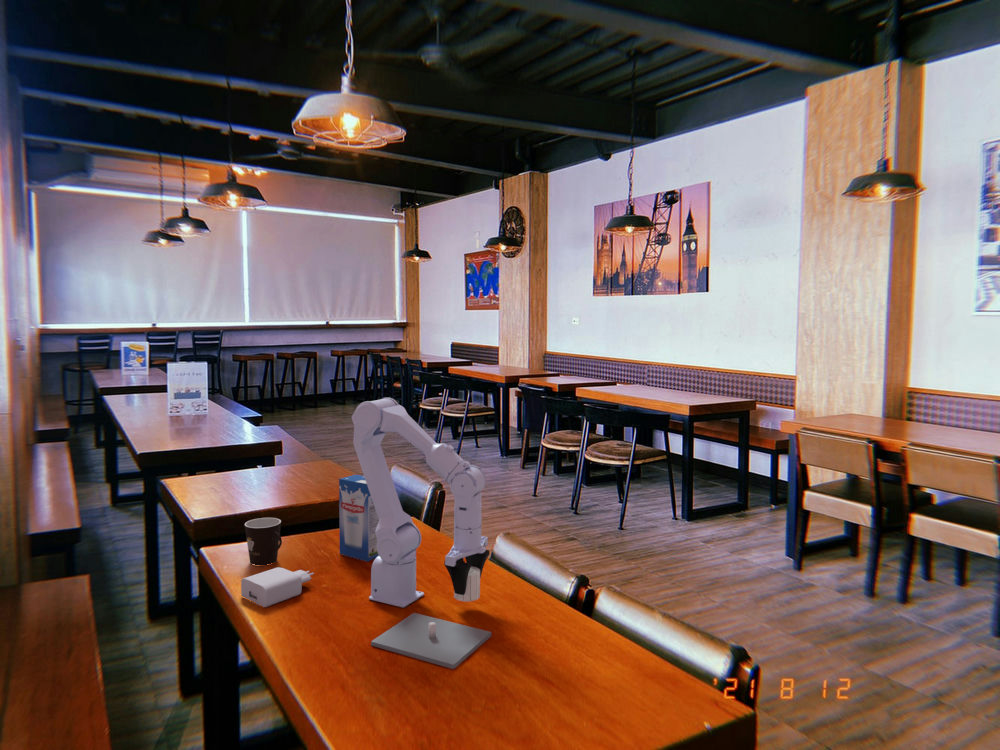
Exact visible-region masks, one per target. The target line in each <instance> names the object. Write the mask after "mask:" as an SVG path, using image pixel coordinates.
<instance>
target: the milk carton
mask: <svg viewBox="0 0 1000 750" xmlns="http://www.w3.org/2000/svg"><path fill="white" fill-rule="evenodd" d="M338 493H339V494H338V496H339V497H338V498H339V499H338V501H339V502H338V507H339V508H338V509H339V513H338V514H339V519H338V520H339V523H338V524H339V526H338V527H339V555H341V554H343V555H342V556H345V555H346V556H345V557H348V556H349V558H352V557H353V559H356V558H357V559H356V560H359V559H360V561H363V560H364V562H370V561H372V559H373V560H375V559H376V558H377V557H378V556H379V554H378V552H377V537H376V534H375V531H376V528H377V525H378V522H379V518H378V516H377V513H376V510H375V507H374V504H373V501H372V498H371V495H370V492H369V489H368V486H367V483H366V480H365V477H364V475H362V474H352V475H349V476H344V477H342V478H341V477H340V478H339V479H338ZM374 558H375V559H374Z"/></svg>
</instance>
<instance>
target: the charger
mask: <svg viewBox="0 0 1000 750" xmlns="http://www.w3.org/2000/svg"><path fill="white" fill-rule="evenodd" d="M314 574H315V572H311V573H310V570H307V571H305V570H303V569H299V570H295V571H291V570H289V569H286V568H284V567H279V566H278V567H274V568H272V569H269V570H265V571H262V572H259V573H256V574H252V575H249V576H247V577H243V578H241V582H240V583H241V585H240V589H241V590H240V593H241V597H242V596H243V597H245V598H247V599H249V600H251V601H253V602H255V603H256V604H255V603H254V604H255V605H257V604H258V605H257V606H259V605H261V606H263V607H262V608H264V607H265V608H268V607H270V606H273V605H275V604H279V603H280V602H283V601H287V600H289V599H291V598H293V597H297V596H300V595H301V593H302V591H303V590H302V588H303V585H302V584H304V583H307V582H310V581H311V580H312V577H311V576H313V575H314ZM243 597H242V598H243ZM251 601H250V602H251ZM253 602H252V603H253ZM261 606H260V607H261Z"/></svg>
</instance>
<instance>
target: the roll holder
mask: <svg viewBox="0 0 1000 750" xmlns="http://www.w3.org/2000/svg"><path fill="white" fill-rule="evenodd" d="M491 637H492V631H487V630H484V629H481V628H477V627H472V626H468V625H465V624H461V623H457V622H452V621H448V620H444V619H441V618H436V617H433V616H428V615H425V614H424V615H423V614H421V613H417V612H413V613H412V614H410V615H409V616H407V617H405V618H404V619H402V620H401V621H399V622H398V623H397V624H395V625H394V626H392V627H390V628H389V629H387V630H386V631H384V632H383V633H381V634H380V635H378V636H377V637H376V638H374V639H372V640H371V642H370V644H371V645H370V646H372V647H376V648H379V649H382V650H386V651H389V652H393V653H395V654H400V655H403V656H406V657H411V658H413V659H417V660H421V661H423V662H424V661H425V662H426V663H427V662H428V663H430V664H434V665H436V666H437V665H438V666H441V667H444V668H448V669H451V670H455V669H456V668H457V667H458V666H460V665H461V663H462V662H464V661H465V660H466V659H467V658H468V657H469V656H471V655H472V654H473V653H474V652H475V651H476V650H477V649H479V647H481V646H482V645H483V644H484V643H485V642H486V641H487V640H489V639H490V638H491Z"/></svg>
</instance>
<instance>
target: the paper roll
mask: <svg viewBox="0 0 1000 750" xmlns="http://www.w3.org/2000/svg"><path fill="white" fill-rule="evenodd" d="M480 596H481V578H480V569H479V568H477V567H473V566H471V568H470V570H469V573H468V577H467V585H466V591H465V594H464V595H460V594H456V593H455V592H454V591H453V598H454V599H455V600H456V601H460V602H466V603H467V602H468V603H469V602H473V601H477V600H478V599H480Z"/></svg>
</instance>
